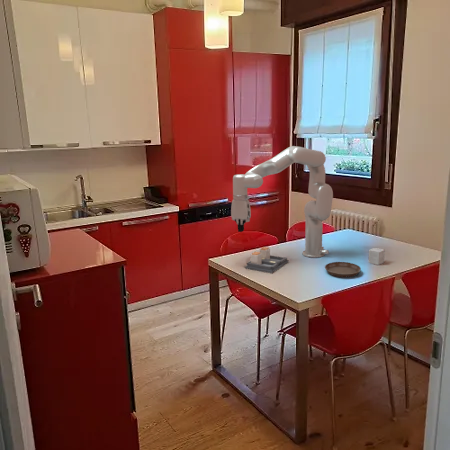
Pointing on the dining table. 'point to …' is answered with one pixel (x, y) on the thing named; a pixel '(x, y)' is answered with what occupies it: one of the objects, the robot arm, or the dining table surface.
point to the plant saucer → (342, 269)
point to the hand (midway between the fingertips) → (240, 231)
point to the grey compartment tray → (268, 264)
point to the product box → (376, 256)
